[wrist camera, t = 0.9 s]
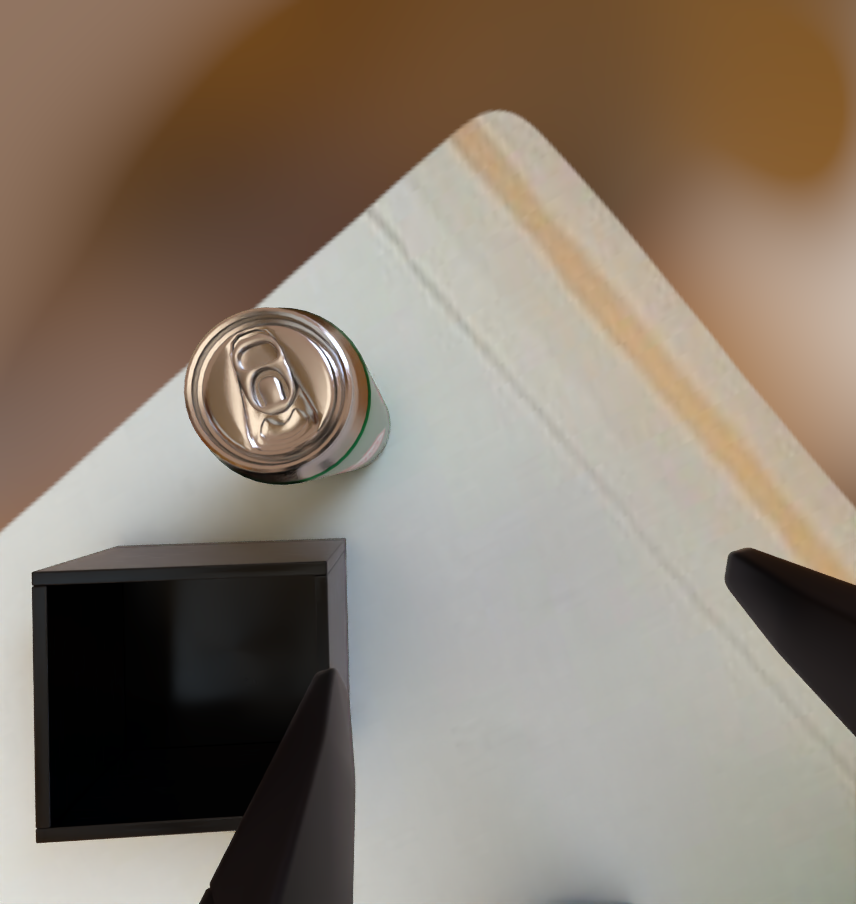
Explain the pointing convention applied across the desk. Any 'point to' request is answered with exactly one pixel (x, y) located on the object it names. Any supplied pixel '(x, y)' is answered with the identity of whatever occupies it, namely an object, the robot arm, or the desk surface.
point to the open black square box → (175, 679)
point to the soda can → (284, 397)
